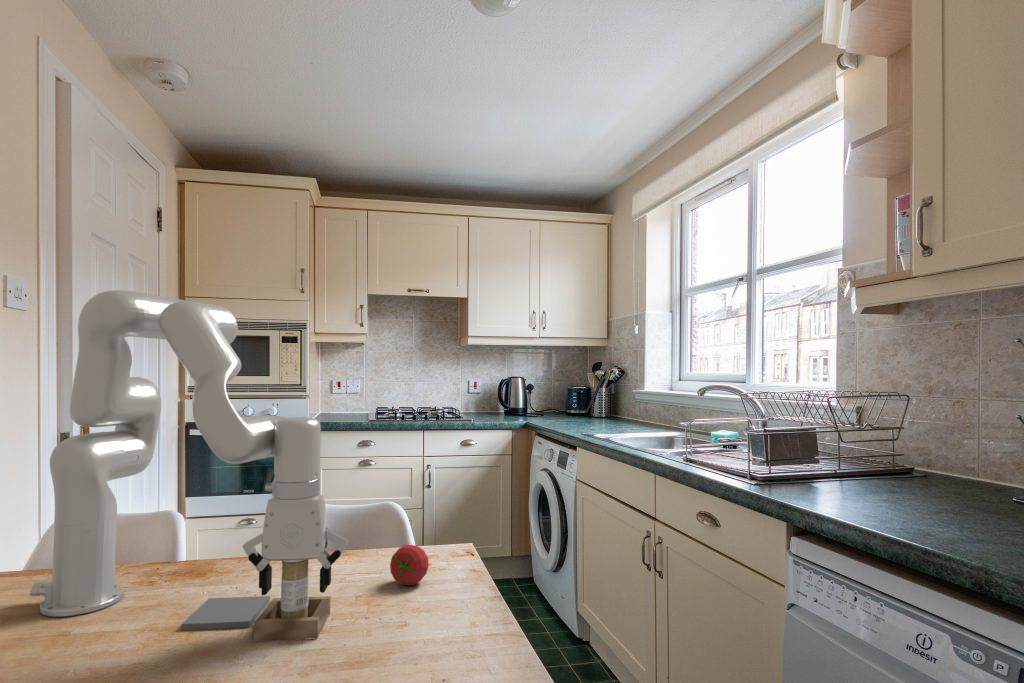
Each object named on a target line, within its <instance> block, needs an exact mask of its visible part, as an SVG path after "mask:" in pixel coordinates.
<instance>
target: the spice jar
mask: <svg viewBox="0 0 1024 683" xmlns="http://www.w3.org/2000/svg"><path fill="white" fill-rule="evenodd" d="M281 564H282V565H281V582H280V583H281V589H280V592H281V593H280V598H281V618H303V617H307V615H308V597H309V591H310V590H309V585H310V584H309V581H310V576H309V560H285V561H281Z"/></svg>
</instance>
